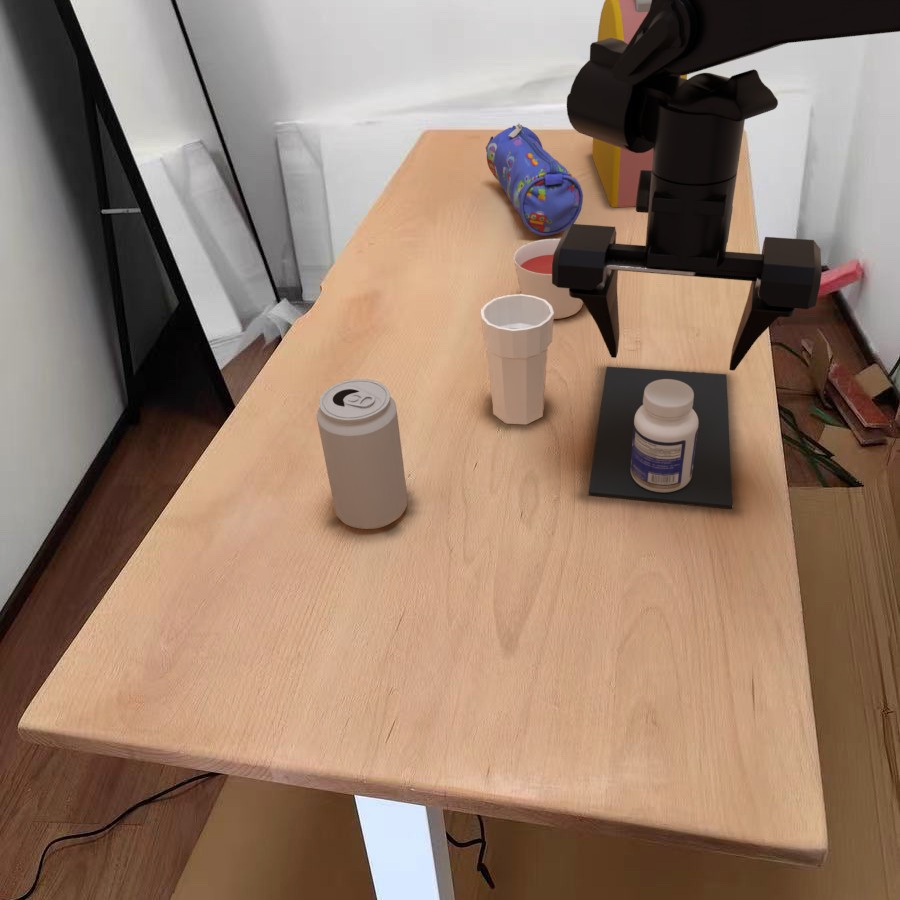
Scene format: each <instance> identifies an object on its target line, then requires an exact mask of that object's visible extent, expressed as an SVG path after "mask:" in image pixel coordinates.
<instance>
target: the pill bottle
mask: <svg viewBox="0 0 900 900" xmlns="http://www.w3.org/2000/svg"><path fill="white" fill-rule="evenodd" d="M693 399H694V392H693V390H692V388H691V387H690V386H688V385H687V384H685V383H683V382H681V381H678V380H673V379H661V380H656V381H653V382H651V383H650V384H648V385H647V386H646V388H645V390H644V397H643V405H642V406H641V407H640V408H639V409H638V410H637V412H636V414H635V418H634V428H633V443H632V457H631V475H632V477H633V479H634V480H635V482H636V483H637V484H639V485H640V486H641V487H643V488H645V489H647V490H650V491H654V492H664V493H665V492H673V491H676V490H679V489H681V488H683V487H684V486H686V485H687V484H688V483H689V481H690V479H691V476H692V471H693V463H694V456H695V448H696V441H697V433H698V417H697V414H696V413H695V411H694V410H693V409H692V407H693Z"/></svg>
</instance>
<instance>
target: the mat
mask: <svg viewBox="0 0 900 900" xmlns="http://www.w3.org/2000/svg"><path fill="white" fill-rule="evenodd" d="M727 377H728V376H727V373H714V372H712V373H711V372H696V371H683V370H682V371H681V370H666V369H650V368H638V367H637V368H636V367H622V366H621V367H619V366H606V369H605V375H604V382H603V390H602V397H601V402H600V403H601V405H600V411H599V416H598V417H599V418H598V425H597V431H596V439H595V445H594V452H593V460H592V467H591V473H590V480H589V485H588V493H587V494H588V496H594V497H604V498H614V499H625V500H636V501H646V502H655V503H657V502H658V503H665V504H678V505H687V506H699V507H706V508H707V507H709V508H720V509H728V510H729V509H730V510H731V509H733V505H734V502H733V483H732V482H733V481H732V465H731V464H732V461H731V444H730V443H731V442H730V439H731V438H730V420H729V419H730V418H729V402H728V401H729V400H728V381H727ZM661 379H673V380H678V381H681V382H683V383H685V384H687V385H688V386H690V387H691V388H692V390H693V392H694V399H693V407H692V409H693V410H694V411H695V413H696V414H697V417H698V433H697V441H696V448H695V456H694V463H693V471H692V476H691V479H690V481H689V483H688V484H687V485H686V486H684V487H683V488H681V489H679V490H676V491H673V492H665V493H664V492H654V491H650V490H647V489H645V488H643V487H641V486H640V485H639V484H637V483H636V482H635V480H634V479H633V477H632V475H631V457H632V443H633V428H634V418H635V414H636V412H637V410H638V409H639V408H640V407H641V406H642V405H643V397H644V390H645V388H646V386H647V385H648V384H650V383H651V382H653V381H656V380H661Z"/></svg>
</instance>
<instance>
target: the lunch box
mask: <svg viewBox="0 0 900 900" xmlns="http://www.w3.org/2000/svg"><path fill="white" fill-rule="evenodd" d="M651 2H652V0H604V2H603V5H602V9H601V12H600V16H599V17H600V18H599V23H598V31H597V39H596V42H597V41H601V40H605V39H609V38H615V39H619V40H622V41H624V42H626V43H627V44H629V42H630V41H631V39H632V38H633V36H634V34H635V33H636V31H637V30H638V28H639V26H640V25H641V23H642V22H643V20H644V18H645V17H646V15H647V14H648V12H649V10H650V6H651ZM680 78H683V79H687V80H688V74H687V75H680ZM653 150H654V148H652V149H651V150H649V151H647V152H644V153H635V152H632V151H629V150H626V149H623V148H620V147H618V146H615V145H612V144H609V143H606V142H604V141H601V140H598V139H595V138H592V154H591V155H592V160H593V162H594V165H595V168H596V170H597V174H598V176H599V179H600V181H601V185H602V187H603V190H604V193H605V195H606V198H607V202H608V204H609V206H610V207H611V208H627V207H628V208H629V207H636V199H637V190H638V184H639V177H640V171H641V170H652V162H653Z"/></svg>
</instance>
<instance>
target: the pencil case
mask: <svg viewBox="0 0 900 900" xmlns="http://www.w3.org/2000/svg"><path fill="white" fill-rule="evenodd" d="M485 151H486V162H487V166H488V169H489V171H490V172H491V174H492V175H493V177H494V178H495V179H496V180H497V181H498V182H499V183H500V186H501V188H502V190H503V191H504V193H505V195H506V197H507V198H508V200H509V202H510V203H511V205H512V207H513V208H514V210H515V211H516V212H517V214H518V215H519V217H521V220H522V222H523V224H524V226H525V227H526V228H527V229H528V231H530V232H531V233H533V234H535V235H538V236H542V237H547V236H553V235H556V234H559V233H561V232H564V231H565V230H566V229H567V228H568V227H569V226H570V225H571V224H575V222H576V221H577V219H578V217H579V216H580V214H581V210H582V208H583V201H584V193H583V189H582V187H581V184H580V182H579V181H578V179H577V178H576V177H575V176H574V175H573V174H571V172H570V171H568V169H566V167H565V166H564V165H562V163H561V162H559V161H558V160H557V159H556V158H554V157H553V156H552V155H551V154H550V153H549V152H547V151H546V150H545V149H544V148H543V145H542V141H541V140H540V138H539V136H538V135H537V134H536V133H535V132H534V131H532V130H531V129H529V128H528V127H526V126H524V125H522V124H520V123H519V122H518V123H517V124H516V125H512V126H511V127H508V128H505V129H504V130H502V131H500V132H499V133H497V134H496V135H495V136H490V138H489V141H488V143H487V145H486V146H485Z"/></svg>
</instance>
